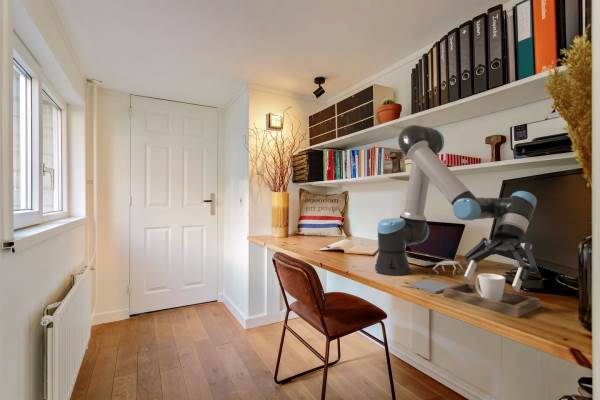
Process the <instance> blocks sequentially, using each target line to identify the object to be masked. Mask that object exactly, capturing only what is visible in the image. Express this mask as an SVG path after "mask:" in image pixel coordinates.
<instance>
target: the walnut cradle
mask: <svg viewBox="0 0 600 400" xmlns="http://www.w3.org/2000/svg"><path fill="white" fill-rule="evenodd" d="M478 287H479V289H480V291H481V288H480V284H478ZM443 290H444V291H443V297H445V298H448V299H452V300H456V301H460V302H463V303H466V304H470V305H473V306H476V307H479V308H483V309H487V310H490V311H494V312H498V313H500V314H504V315H507V316H511V317H514V318H520V317H522V316H525V315H526V314H528V313H531V312H532V311H535V310H537V309H538V308H540V298H537V297H534V296H530V295H529V296H528V295H524V294H520V293H518V292H517V293H516V292H512V291H511V292H510V291H507V290H504V292H503V296H502V300H501V301H495V300H491V299H488V298H484V297H481V295H480V294H479V293H478V291H477V289H476V286H475V283H472V282H469V281H466V282H462V283H458V284H454V285H453V286H451V287H447V288H444V289H443ZM467 292H471V293H467ZM472 293H474V294H472ZM481 293H482V292H481ZM475 294H478V295H475ZM502 301H506V302H507V303H506V302H502ZM508 302H510V303H508ZM511 303H514V304H511Z"/></svg>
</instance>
